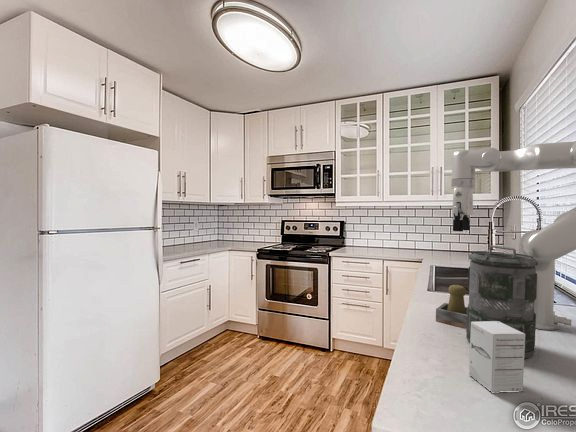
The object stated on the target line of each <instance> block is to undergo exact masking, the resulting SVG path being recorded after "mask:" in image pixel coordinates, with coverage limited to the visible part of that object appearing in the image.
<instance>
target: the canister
mask: <svg viewBox="0 0 576 432" xmlns="http://www.w3.org/2000/svg"><path fill="white" fill-rule="evenodd" d="M488 249H489V251H487V250H483V251H479V250H476V251H473V252H471V254H469V255H468V259H469V260H470V261H469V262H470V263H469V266H468V271H467V272H468V274H467V275H468V276H467V279H468V282H467V289H468V290H469V291H468V304H467V306H466V307H467V324H466V328H465V330H466V331H465V333H466V335H465V336H466V339H467V341H468V344H470V335H471V322H480V321H499V322H501V323H503V324H506V325H508V326H510V327H512V328H514V329H516V330H518V331H520V332H522V333H524V334H525V352H524V359H527V358H531V356H532V357H533V355H534V353H535V347H536V329H537V328H536V314H535V313H534V303H535V300H536V296H537V273H536V267H535V266H537V265H538V262H537V261H536V260H535V259H534V258H533V257H532V256H528V255H523V254H519V253H517V249H515V248H514V247H509V246H501V245H492V244H491V245H490V246H489V248H488ZM493 249H502V250H506V251H507V250H508V251H512V253H505V252H504V253H503V252H493Z"/></svg>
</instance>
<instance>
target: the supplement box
mask: <svg viewBox="0 0 576 432" xmlns="http://www.w3.org/2000/svg"><path fill="white" fill-rule="evenodd" d="M524 352H525V334H524V333H522V332H520V331H518V330H516V329H514V328H512V327H510V326H508V325H506V324H503V323H501V322H499V321H480V322H471V335H470V343H469V364H468V376H469V375H470V376H469V377H471V376H472V377H473V378H472V377H471V378H472V379H474V381H476V380H477V381H478V382H477V381H476V382H477V383H479V384H480V385H481V384H482V385H483V386H482V385H481V386H482V387H483V388H485V387H486V388H487V389H488V390H489V391H491V392H500V391H524V390H523V389H524V372H525V371H524V370H525V358H524ZM486 388H485V389H486ZM487 389H486V390H487ZM488 390H487V391H488ZM489 391H488V392H489ZM491 392H490V393H491Z"/></svg>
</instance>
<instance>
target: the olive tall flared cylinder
mask: <svg viewBox="0 0 576 432" xmlns="http://www.w3.org/2000/svg"><path fill="white" fill-rule="evenodd" d="M466 293H467V292H466V288H465V286H462V285H460V284H459V285H458V284H451V285H449V287H448V294H449V297H448V303H449V304H448V309H447V311H452V312H457V313H461V314H466V313H465V307H466V305H465V295H466Z"/></svg>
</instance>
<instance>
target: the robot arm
mask: <svg viewBox="0 0 576 432" xmlns="http://www.w3.org/2000/svg"><path fill="white" fill-rule="evenodd" d="M451 159H452V160H451V163H452V164H451V183H450V184H451V189H453V193H452V194H453V195H452V214H453V217H452V231H453V232H464V231H470V230H471V228H470V227H471V224H470V223H471V217H470V216H472V215H474V214H473V213H474V196H473V193H474V191H473V189H475V186H476V185H475V183H476V181H475V179H476V169H478V170H479V171H481V172H486V173H492V172H493V173H494V172H497V173H498V172H512V171H513V172H514V171H515V172H517V171H536V170H554V169H555V170H557V169H560V170H561V169H576V141H562V142H561V141H560V142H549V143H548V142H546V143H537V144H533V145H529V146H526V147H524V148H523V147H522V148H518V149H513V150H504V151H503V150H502V151H500V150H499V149H497V148H495V147H491V146H490V147H484V148H483V147H482V148H477V149H461V150H456V151H454V152H453V153H452V157H451ZM574 251H576V206H575V207H572V209H569V210H567V211H566V212H563V213H561V214H560V215H558V216H557V217H556V218H555V219H554V221H553V222H552V223H551V224H548V226H545V227H544V228H542V229H532V230H528V231H526V232H524V233H523V234H522V236H521V237H520V239H519V242H518V254H523V255H528V256H532V257H533V258H534V259H535V260H536V261H537V262H538V265H537V266H535V267H536V273H537V296H536V300H535V303H534V313H535V314H536V329H539V330H546V331H547V330H548V331H550V330H551V331H554V330H559V328H560V325H561V324H562V325H564V326H565V325H566V326H571V327H572V319H570V318H567V317H565V316H564V317H563V316H558V315H557V314H556V311H554V306H555V305H554V303H555V280H556V262H555V261H556V260H558V259H559V258H562V257H564V256H566V255H568V254H570V253H573V252H574Z"/></svg>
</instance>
